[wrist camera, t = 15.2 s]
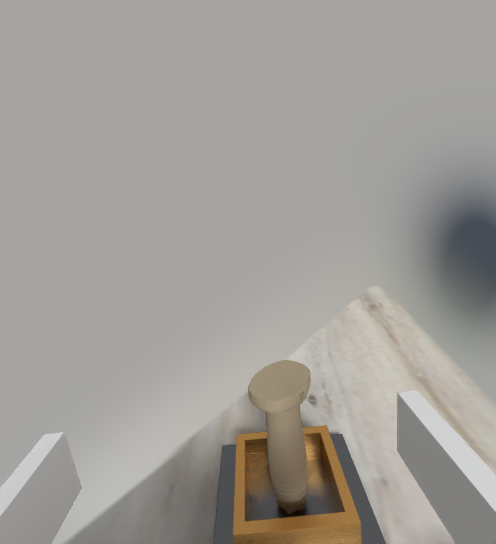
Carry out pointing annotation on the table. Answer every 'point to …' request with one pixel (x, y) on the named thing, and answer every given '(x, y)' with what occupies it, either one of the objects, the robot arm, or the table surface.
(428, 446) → the robot arm
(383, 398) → the table surface
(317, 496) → the socket
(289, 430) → the handle
